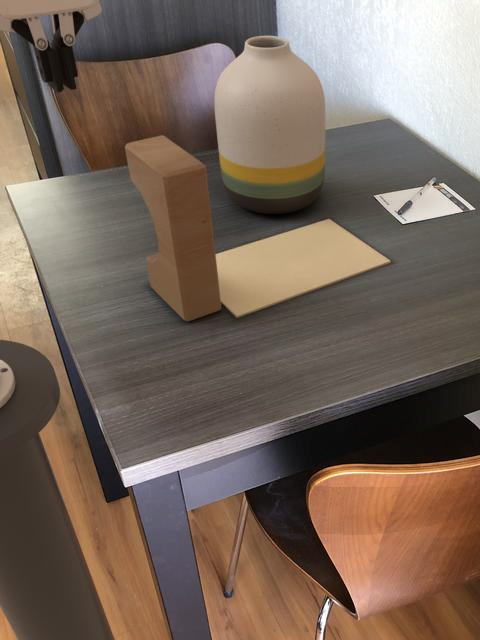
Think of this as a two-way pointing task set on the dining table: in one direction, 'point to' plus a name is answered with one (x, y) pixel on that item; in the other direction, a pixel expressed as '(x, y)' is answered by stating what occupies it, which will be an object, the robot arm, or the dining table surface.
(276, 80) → the vase
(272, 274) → the felt mat
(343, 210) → the dining table surface
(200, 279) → the decorative block
